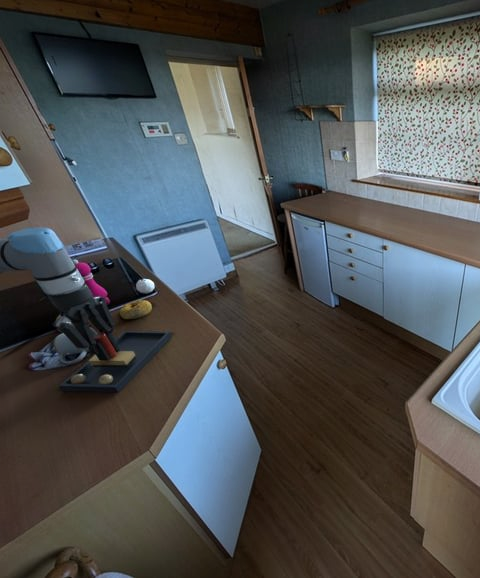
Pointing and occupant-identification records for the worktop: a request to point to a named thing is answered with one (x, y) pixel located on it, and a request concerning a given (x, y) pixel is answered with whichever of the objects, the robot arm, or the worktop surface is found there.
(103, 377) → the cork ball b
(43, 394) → the worktop surface
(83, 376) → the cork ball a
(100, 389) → the tray
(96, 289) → the pepper mill
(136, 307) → the bagel
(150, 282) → the white ovoid
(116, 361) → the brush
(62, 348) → the ceramic mug
